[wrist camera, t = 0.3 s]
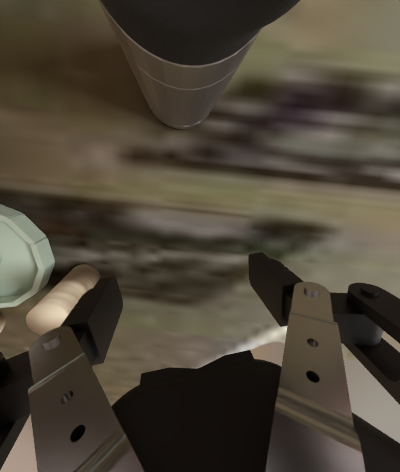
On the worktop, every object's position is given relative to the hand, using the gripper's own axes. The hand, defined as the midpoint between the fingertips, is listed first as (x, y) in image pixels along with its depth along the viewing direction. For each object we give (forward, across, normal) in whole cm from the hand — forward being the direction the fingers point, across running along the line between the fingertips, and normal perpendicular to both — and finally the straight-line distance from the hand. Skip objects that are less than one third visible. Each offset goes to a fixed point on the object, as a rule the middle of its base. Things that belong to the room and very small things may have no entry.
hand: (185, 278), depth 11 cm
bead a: (+20, +16, +9) cm, 27 cm away
